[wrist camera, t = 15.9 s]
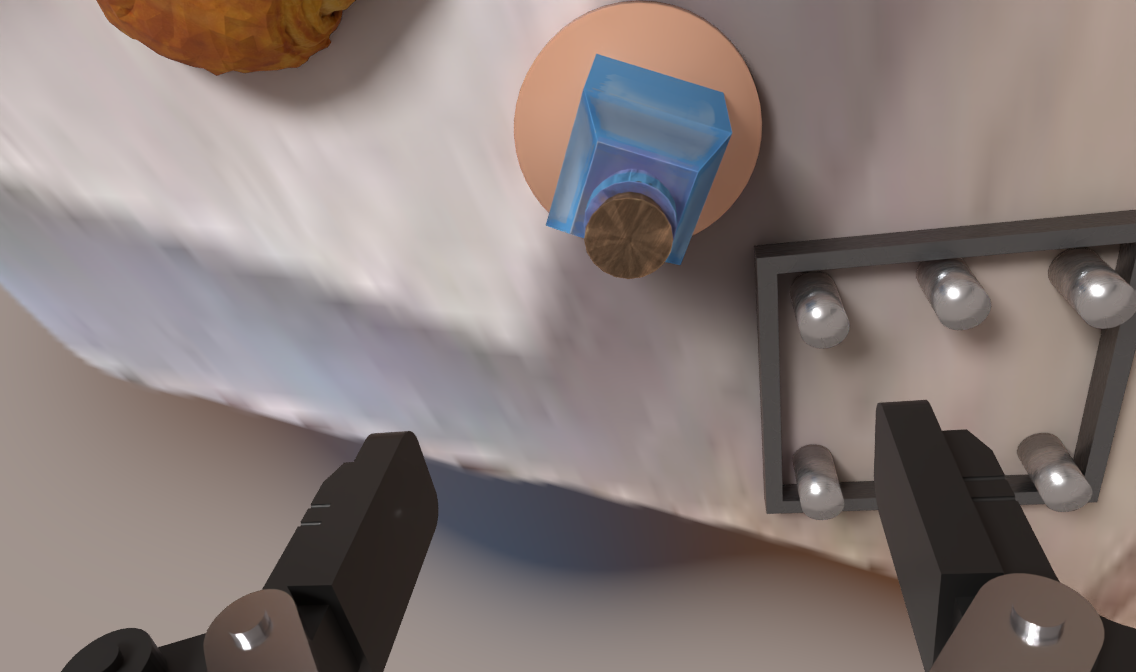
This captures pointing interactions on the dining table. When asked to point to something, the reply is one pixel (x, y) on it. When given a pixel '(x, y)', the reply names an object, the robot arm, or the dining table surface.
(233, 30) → the croissant
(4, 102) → the dining table surface
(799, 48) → the dining table surface
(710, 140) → the perfume bottle
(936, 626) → the robot arm
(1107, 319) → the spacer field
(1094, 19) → the dining table surface
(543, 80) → the peach round disc
